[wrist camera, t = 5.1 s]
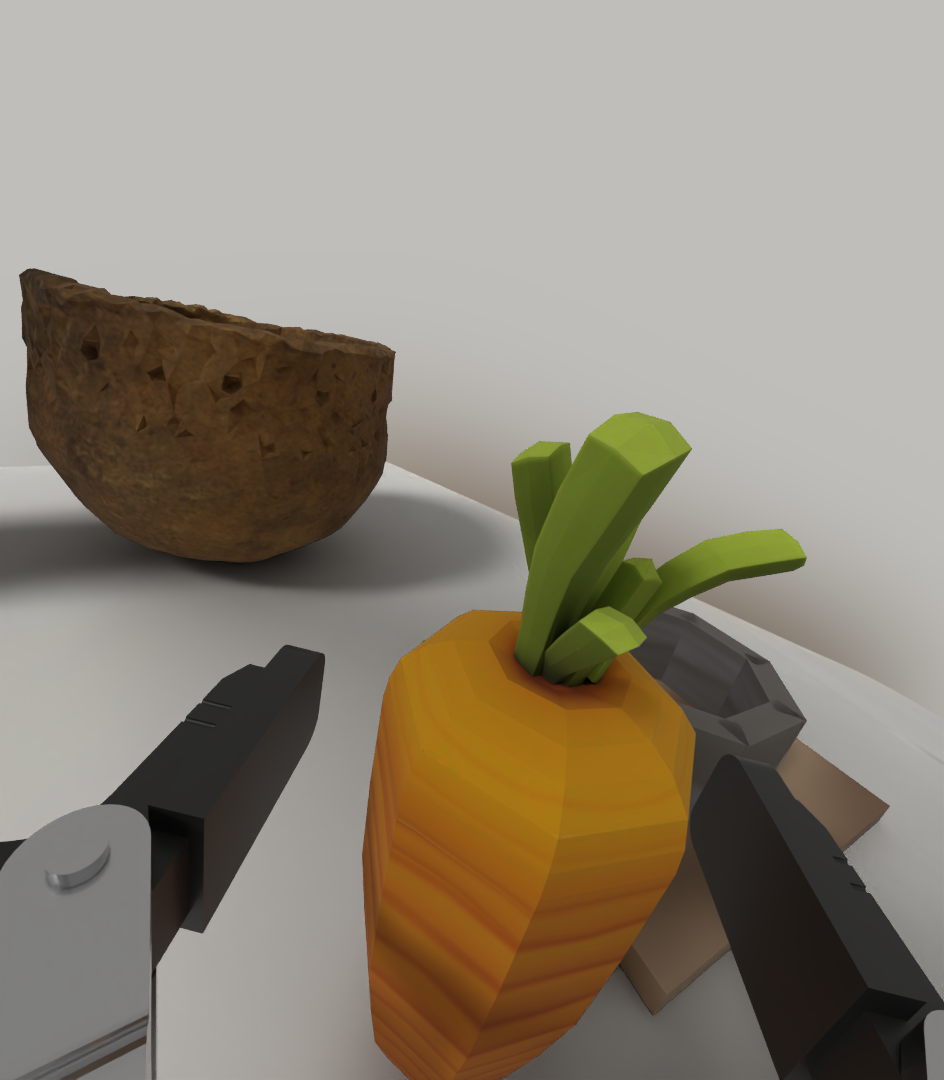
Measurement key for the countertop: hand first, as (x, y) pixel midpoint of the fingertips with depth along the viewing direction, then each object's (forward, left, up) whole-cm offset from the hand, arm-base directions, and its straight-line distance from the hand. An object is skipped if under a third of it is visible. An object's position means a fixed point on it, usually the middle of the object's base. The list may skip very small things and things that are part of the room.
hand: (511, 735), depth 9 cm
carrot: (+1, -1, -9) cm, 9 cm away
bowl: (-27, -3, -9) cm, 28 cm away
